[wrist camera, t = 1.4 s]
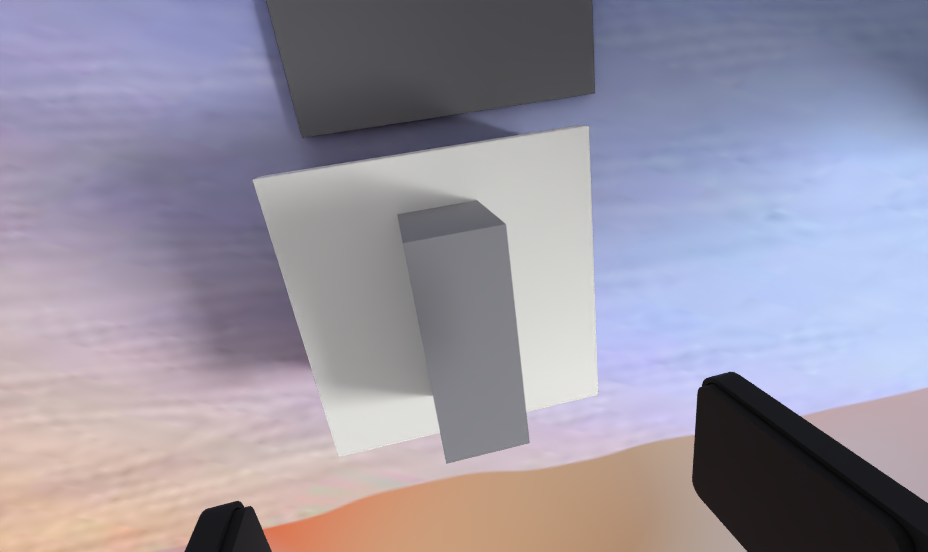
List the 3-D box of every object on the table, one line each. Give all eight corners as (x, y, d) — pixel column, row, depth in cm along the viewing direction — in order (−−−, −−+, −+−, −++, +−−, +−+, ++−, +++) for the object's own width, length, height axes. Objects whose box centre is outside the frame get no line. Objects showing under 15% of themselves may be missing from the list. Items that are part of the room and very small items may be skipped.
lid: (577, 125, 17) (651, 127, 12) (588, 383, 21) (646, 456, 17) (260, 176, 16) (209, 200, 11) (340, 441, 20) (328, 539, 15)
